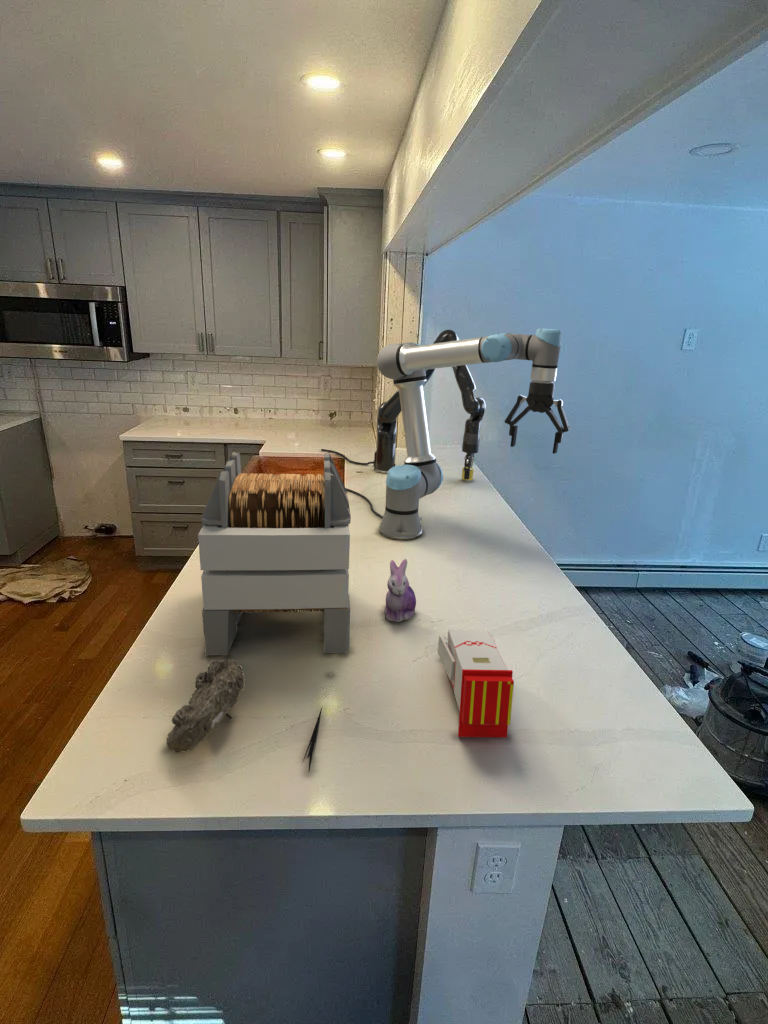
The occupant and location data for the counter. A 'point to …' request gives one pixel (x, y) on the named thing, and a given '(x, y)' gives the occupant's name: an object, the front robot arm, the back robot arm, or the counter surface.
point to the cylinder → (469, 474)
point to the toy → (478, 682)
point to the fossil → (206, 705)
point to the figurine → (399, 594)
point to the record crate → (275, 551)
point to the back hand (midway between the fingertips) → (467, 477)
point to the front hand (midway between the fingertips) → (533, 449)
